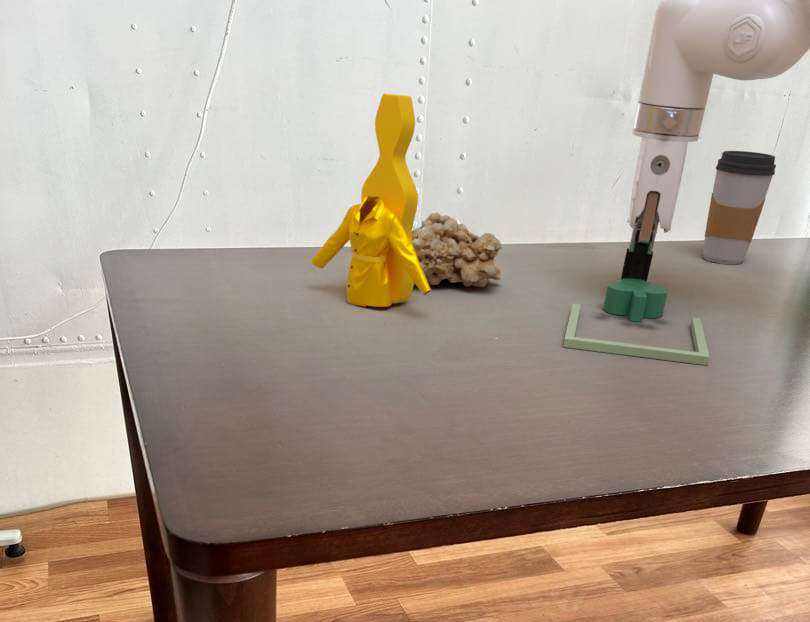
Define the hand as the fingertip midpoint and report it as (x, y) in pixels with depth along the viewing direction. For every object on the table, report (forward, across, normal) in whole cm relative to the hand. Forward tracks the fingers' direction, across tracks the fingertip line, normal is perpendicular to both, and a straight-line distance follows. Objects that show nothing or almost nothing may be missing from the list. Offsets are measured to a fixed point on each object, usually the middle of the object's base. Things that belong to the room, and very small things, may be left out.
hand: (633, 283), depth 104 cm
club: (+2, -5, 0) cm, 5 cm away
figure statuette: (+3, -15, +30) cm, 33 cm away
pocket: (+2, -15, -1) cm, 15 cm away
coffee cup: (+2, +30, -14) cm, 33 cm away
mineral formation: (+3, -1, +24) cm, 24 cm away
